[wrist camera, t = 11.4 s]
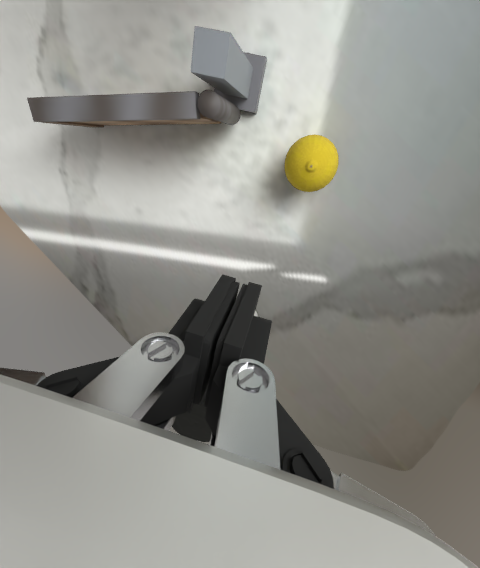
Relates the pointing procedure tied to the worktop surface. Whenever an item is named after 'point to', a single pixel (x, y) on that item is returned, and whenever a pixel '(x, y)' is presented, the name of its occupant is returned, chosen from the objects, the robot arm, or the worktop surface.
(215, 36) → the gate post
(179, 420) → the spray can
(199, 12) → the worktop surface
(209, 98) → the gate
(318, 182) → the lemon
